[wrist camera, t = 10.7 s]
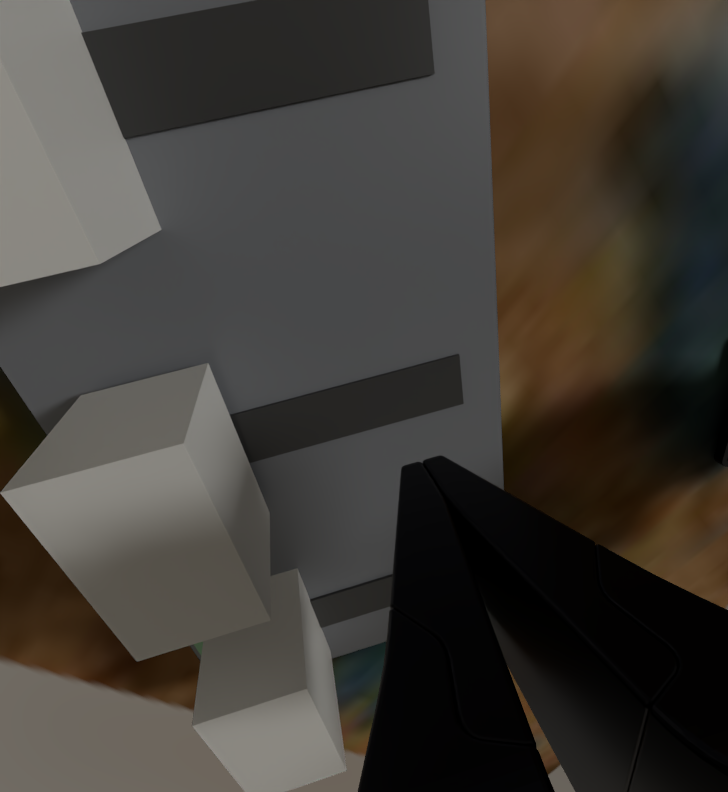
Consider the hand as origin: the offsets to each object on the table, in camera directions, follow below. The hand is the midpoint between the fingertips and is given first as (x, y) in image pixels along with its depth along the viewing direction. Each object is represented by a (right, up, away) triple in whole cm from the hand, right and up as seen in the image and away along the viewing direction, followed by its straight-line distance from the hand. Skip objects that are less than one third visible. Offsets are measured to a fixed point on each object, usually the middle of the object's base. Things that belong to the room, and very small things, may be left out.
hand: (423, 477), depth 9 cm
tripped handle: (-6, 0, +3) cm, 7 cm away
